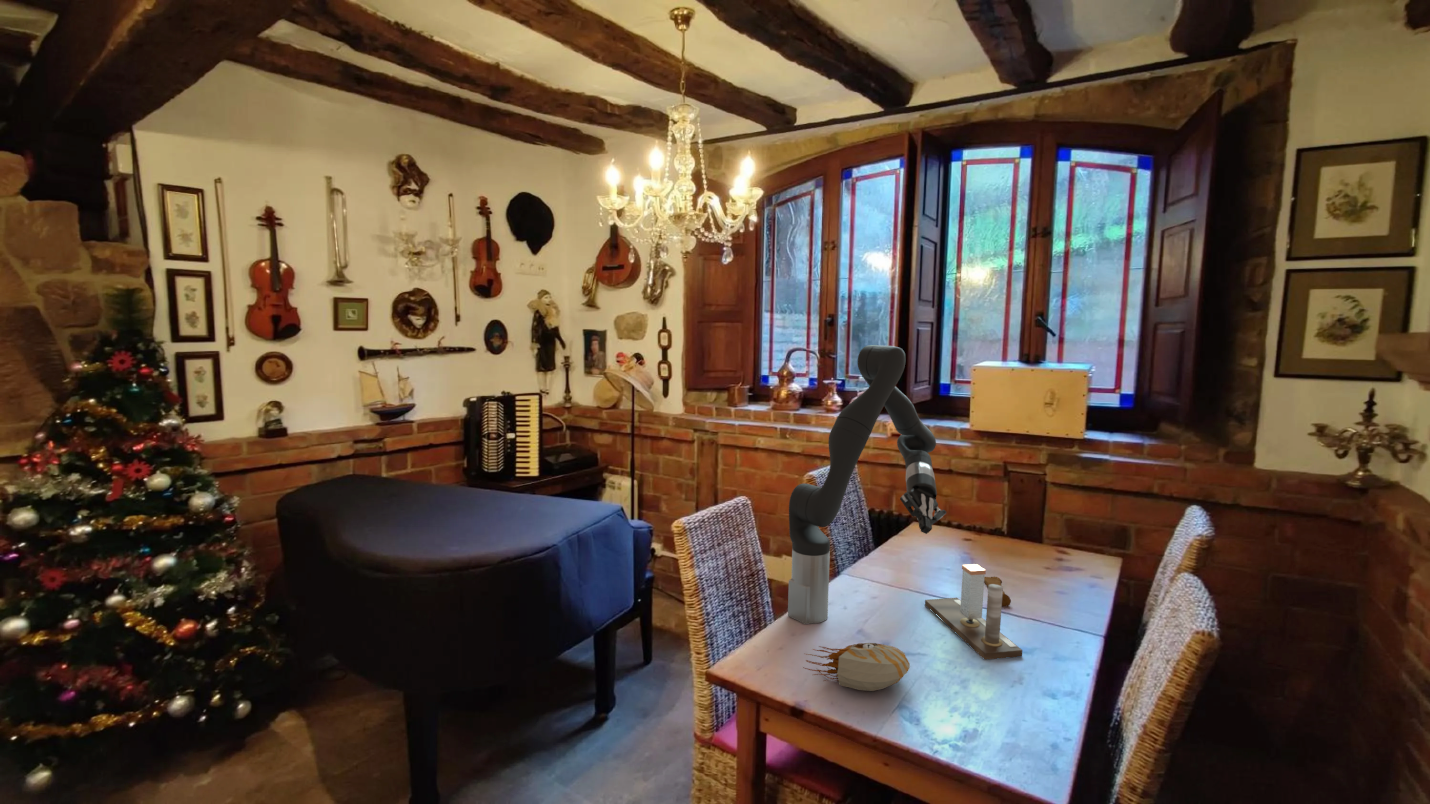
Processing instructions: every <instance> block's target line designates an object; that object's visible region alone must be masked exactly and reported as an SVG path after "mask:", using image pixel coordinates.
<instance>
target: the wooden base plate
mask: <svg viewBox="0 0 1430 804" xmlns="http://www.w3.org/2000/svg"><path fill="white" fill-rule="evenodd" d="M1003 591H1004V587H1003V586H1002V585H1001V586H1000V585H996V584H990V585H988V587H987V601H986V614H985V615H986V616H985V619H984V618H983V617H982V618H979V619H973V622H969V621H968V619H967V618H966V617H965V616H964V615H962V614H961V613H960V608H961V598H960V599H959V597H946V598H945V597H944V598H931V599H925V600H924V606H925V605H926V606H927V607H928V608H929V609H928V608H927V607H926V606H925V607H926V608H927V609H928V610H930V609H931V610H932V611H933V612H934V613H935V614H937V615H938V616H939V617H940V618H941V619H942V620H943V621H944V622H945V623H946V624H947V625H948V626H949V627H950V628H951V630H952V632H954V633H955V632H956V633H957V634H958V635H959V636H960V637H961V638H962V639H963V642H965V643H966V644H967V643H968V644H969V645H970V646H971V647H972V648H973V649H974V650H973V649H972V648H971V647H970V646H969V645H968V644H967V645H968V646H969V647H970V648H971V649H972V650H973V651H974V652H976V653H977V655H979V656H980V658H982V659H983V658H984V659H985V660H987V659H988V660H997V658H999V659H1007V658H1006V657H1010V658H1018V657H1017V656H1022V657H1023V649H1022V648H1021V647H1019V646H1018V645H1017V644H1016V643H1014V642H1013V640H1010V639H1009V638H1008V637H1007V636H1006V635H1004V634H1003V633H1002V632H1001V621H1002V619H1001V618H1002V607H1003V606H1002V594H1003ZM931 610H930V611H931ZM932 611H931V612H932ZM933 612H932V613H933ZM934 613H933V614H934ZM935 614H934V615H935ZM941 619H940V620H941ZM942 620H941V621H942ZM943 621H942V622H943ZM944 622H943V623H944ZM945 623H944V624H945ZM946 624H945V625H946ZM947 625H946V626H947ZM948 626H947V627H948ZM949 627H948V628H949ZM950 628H949V629H950ZM956 633H955V634H956ZM957 634H956V635H957ZM958 635H957V636H958ZM959 636H958V637H959ZM960 637H959V638H960ZM962 639H961V640H962ZM984 659H983V660H984ZM985 660H984V661H985Z"/></svg>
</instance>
